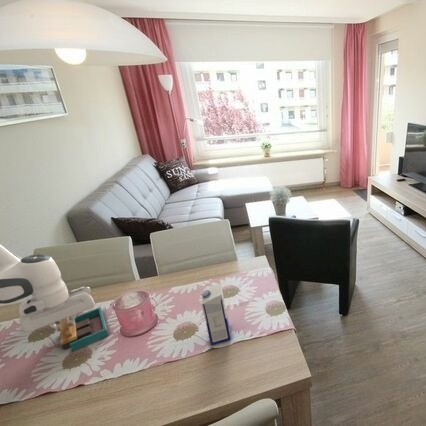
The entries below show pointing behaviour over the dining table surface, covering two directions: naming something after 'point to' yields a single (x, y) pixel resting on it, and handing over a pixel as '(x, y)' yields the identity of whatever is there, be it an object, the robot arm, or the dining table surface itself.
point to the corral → (93, 336)
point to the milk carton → (215, 315)
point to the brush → (67, 333)
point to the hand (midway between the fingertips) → (66, 327)
